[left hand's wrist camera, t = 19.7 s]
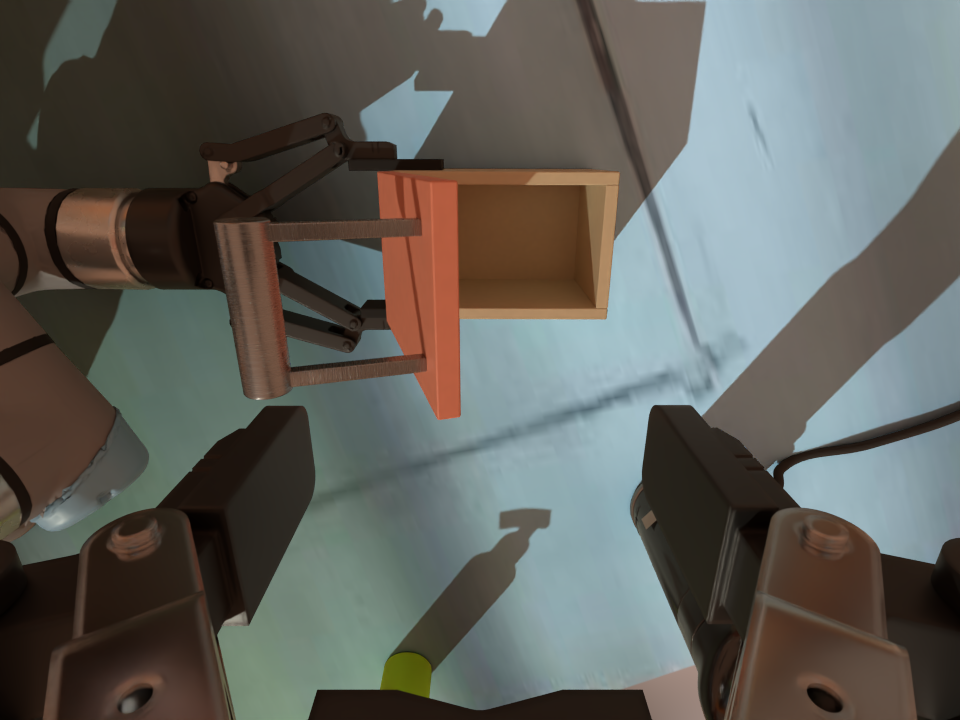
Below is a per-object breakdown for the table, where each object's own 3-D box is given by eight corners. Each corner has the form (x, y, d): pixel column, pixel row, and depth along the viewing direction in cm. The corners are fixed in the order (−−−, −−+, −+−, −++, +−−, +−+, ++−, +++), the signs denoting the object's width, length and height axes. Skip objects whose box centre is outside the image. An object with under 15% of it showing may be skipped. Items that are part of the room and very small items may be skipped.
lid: (458, 180, 20) (194, 182, 17) (461, 417, 23) (243, 448, 21) (393, 171, 34) (243, 171, 31) (402, 320, 37) (267, 332, 35)
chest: (589, 168, 44) (620, 171, 34) (580, 286, 48) (606, 319, 38) (408, 168, 44) (386, 170, 34) (413, 286, 48) (395, 319, 38)
